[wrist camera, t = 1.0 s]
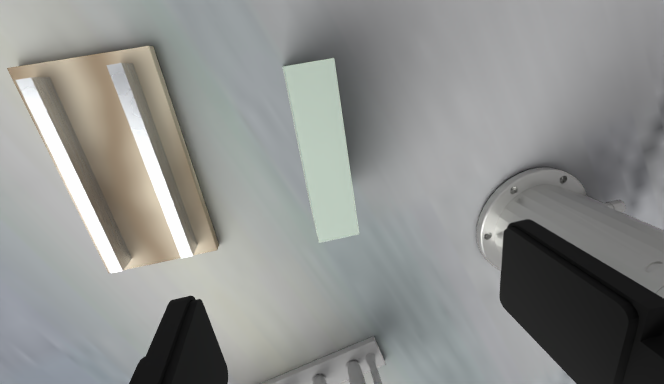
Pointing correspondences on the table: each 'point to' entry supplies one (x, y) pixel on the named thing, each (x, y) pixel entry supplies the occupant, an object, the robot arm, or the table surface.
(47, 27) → the table surface
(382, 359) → the test tube rack
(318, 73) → the door panel
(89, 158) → the bottom track
